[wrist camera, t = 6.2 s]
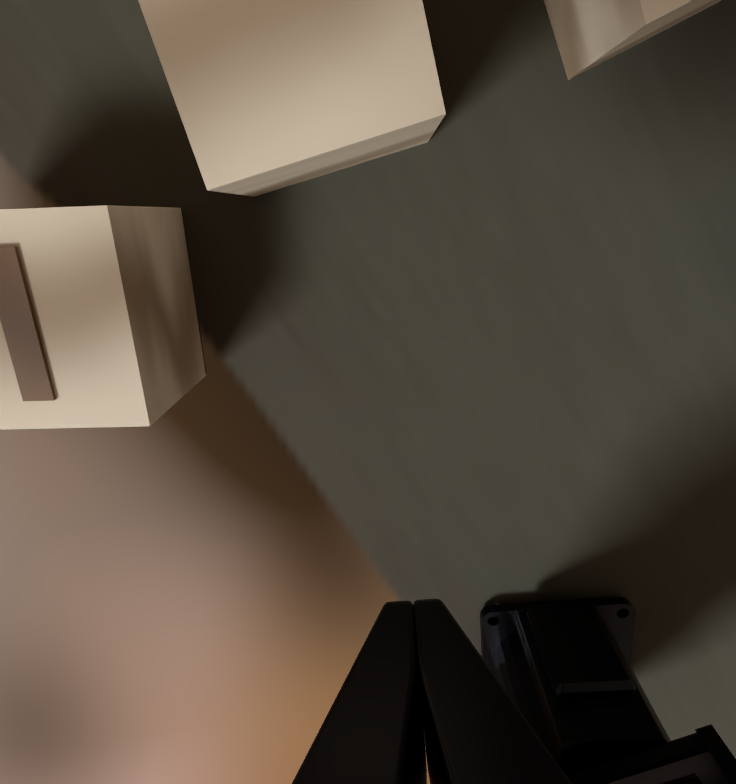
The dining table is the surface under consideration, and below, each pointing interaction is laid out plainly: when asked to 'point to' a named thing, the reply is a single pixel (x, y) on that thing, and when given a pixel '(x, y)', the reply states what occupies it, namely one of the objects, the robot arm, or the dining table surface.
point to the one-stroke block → (95, 316)
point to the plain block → (295, 84)
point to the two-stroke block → (611, 26)
